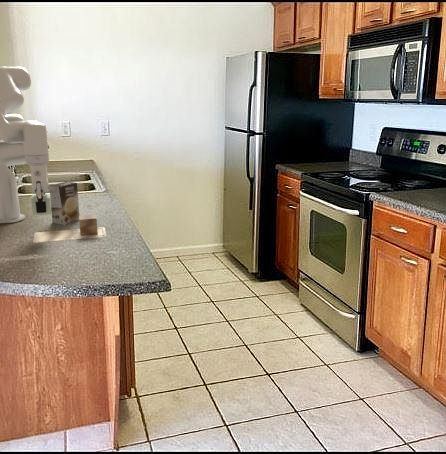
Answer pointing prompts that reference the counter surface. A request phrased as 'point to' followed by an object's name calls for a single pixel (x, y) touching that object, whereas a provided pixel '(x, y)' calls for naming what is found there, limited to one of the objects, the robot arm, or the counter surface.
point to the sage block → (48, 205)
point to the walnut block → (88, 225)
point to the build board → (65, 235)
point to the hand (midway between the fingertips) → (42, 209)
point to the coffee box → (64, 202)
